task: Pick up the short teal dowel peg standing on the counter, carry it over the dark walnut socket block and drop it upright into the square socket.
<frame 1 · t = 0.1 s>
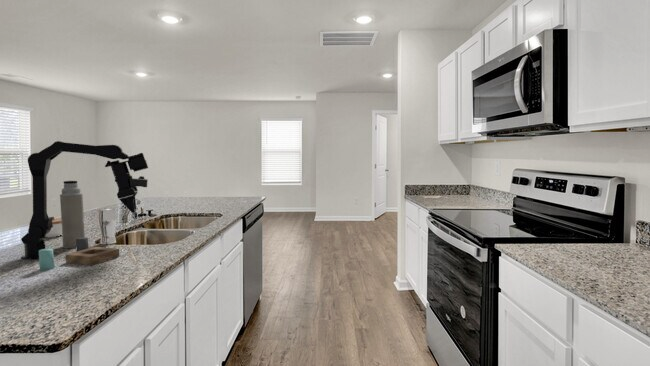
hand: (134, 211, 158), 15 cm above the counter, tool pointing down, fingers open, 9 cm apart
socket block: (93, 259, 141), on the counter
beer glass: (108, 243, 168), on the counter
thermos bottle: (74, 246, 163), on the counter
peg: (47, 268, 131), on the counter
black dowel: (82, 253, 150), on the counter
lidded jar: (54, 236, 184), on the counter
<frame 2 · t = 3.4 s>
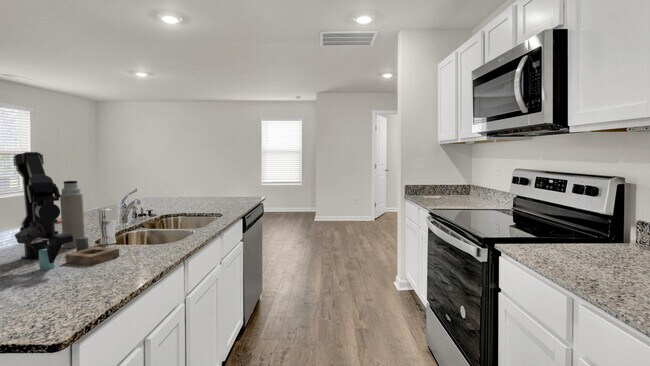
hand: (46, 262, 130), 2 cm above the counter, tool pointing down, fingers closed on peg, 4 cm apart
peg: (47, 268, 131), on the counter, touching gripper
everything else where it was.
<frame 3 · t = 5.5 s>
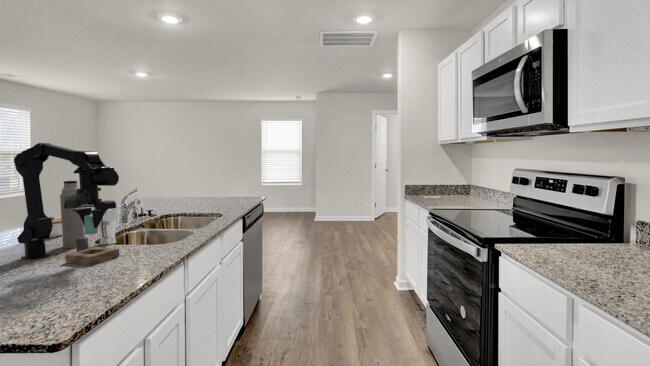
hand: (91, 227, 140), 12 cm above the counter, tool pointing down, fingers closed on peg, 4 cm apart
peg: (91, 233, 140), point 10 cm above the counter, touching gripper
everything else where it was.
when the fingers open (4 cm above the counter, at t = 7.5 s): peg drops 2 cm, resting in socket block.
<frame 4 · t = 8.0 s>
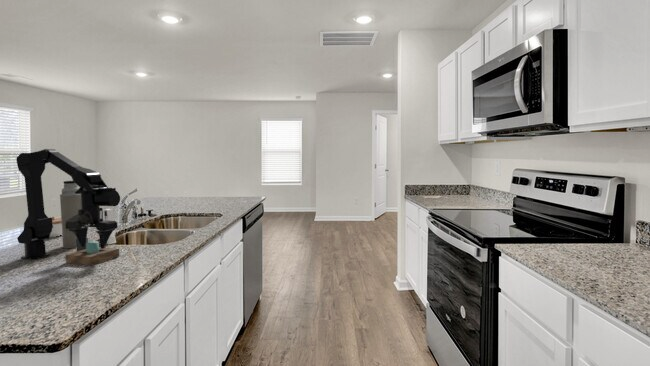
hand: (92, 247, 141), 4 cm above the counter, tool pointing down, fingers open, 9 cm apart
peg: (93, 259, 141), resting in socket block
everything else where it was.
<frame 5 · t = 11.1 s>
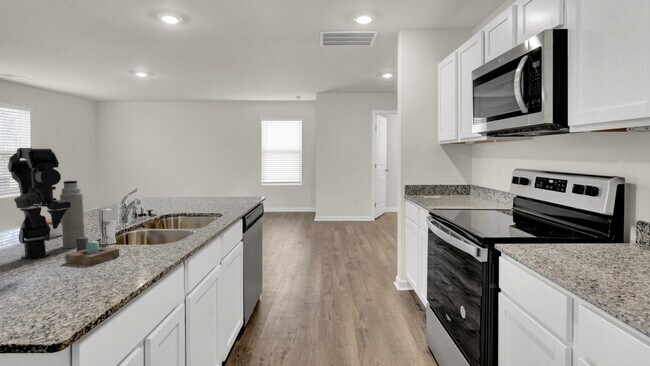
hand: (45, 228, 135), 13 cm above the counter, tool pointing down, fingers open, 9 cm apart
nothing on the counter moved.
at the end: peg 0.1 cm off-centre on the socket block, point 0.0 cm above the socket block's base; peg tilted 0°; the gripper is holding nothing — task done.
